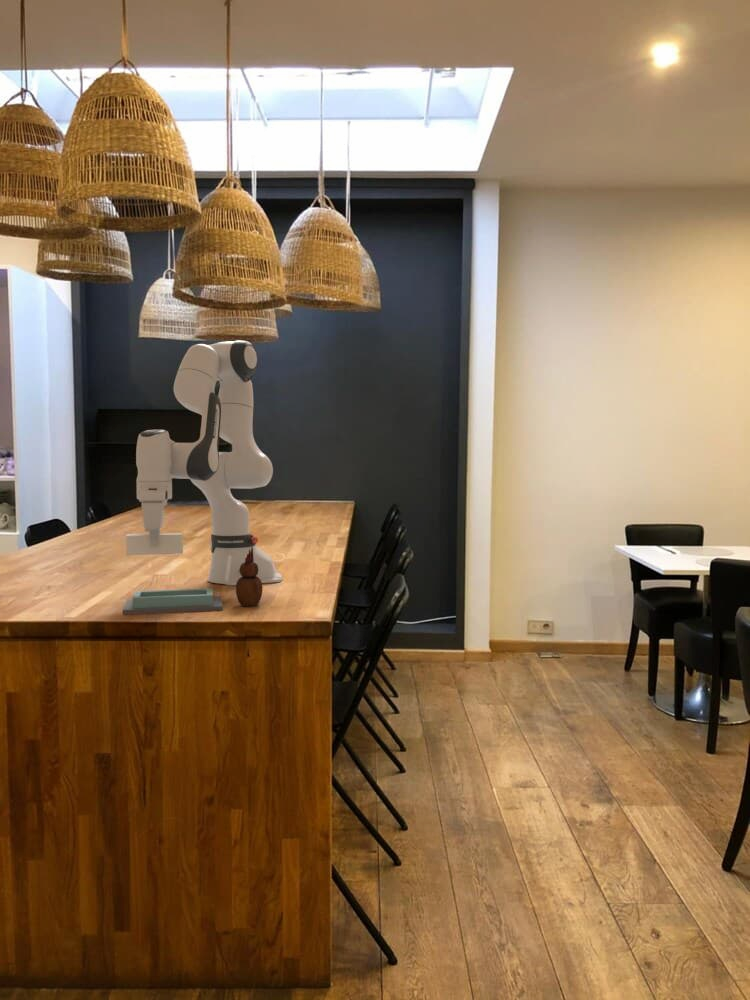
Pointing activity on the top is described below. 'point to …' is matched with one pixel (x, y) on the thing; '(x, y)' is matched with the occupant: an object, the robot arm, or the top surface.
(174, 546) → the long cream plank
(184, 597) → the cradle jig
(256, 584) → the wooden figurine
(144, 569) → the top surface
